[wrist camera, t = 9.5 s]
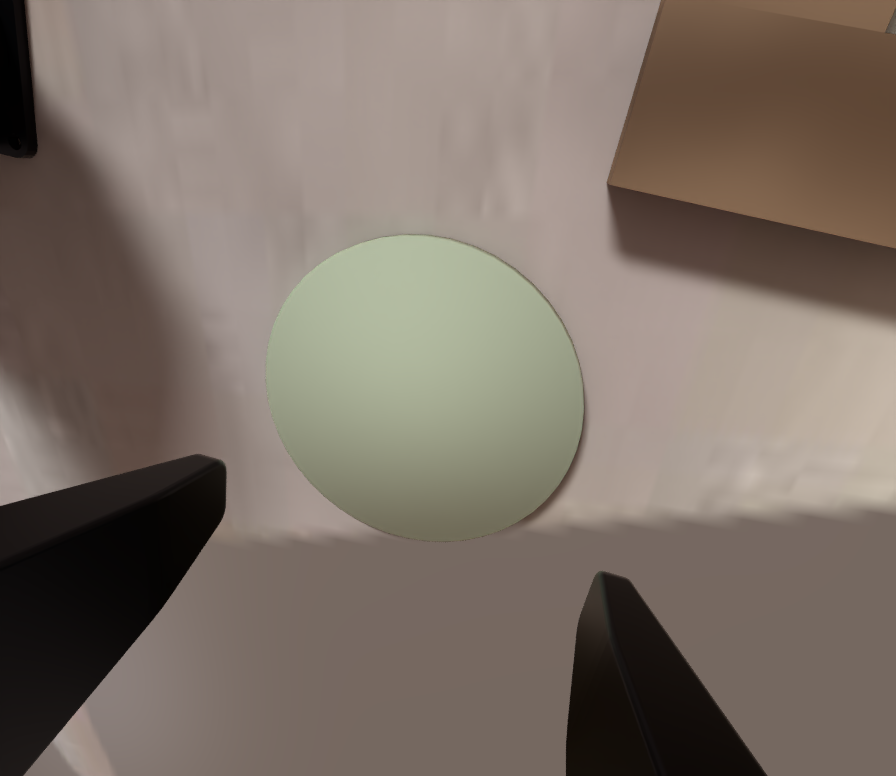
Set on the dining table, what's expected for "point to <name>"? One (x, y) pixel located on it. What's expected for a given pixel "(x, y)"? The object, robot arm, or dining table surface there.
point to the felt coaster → (425, 387)
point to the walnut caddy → (769, 113)
